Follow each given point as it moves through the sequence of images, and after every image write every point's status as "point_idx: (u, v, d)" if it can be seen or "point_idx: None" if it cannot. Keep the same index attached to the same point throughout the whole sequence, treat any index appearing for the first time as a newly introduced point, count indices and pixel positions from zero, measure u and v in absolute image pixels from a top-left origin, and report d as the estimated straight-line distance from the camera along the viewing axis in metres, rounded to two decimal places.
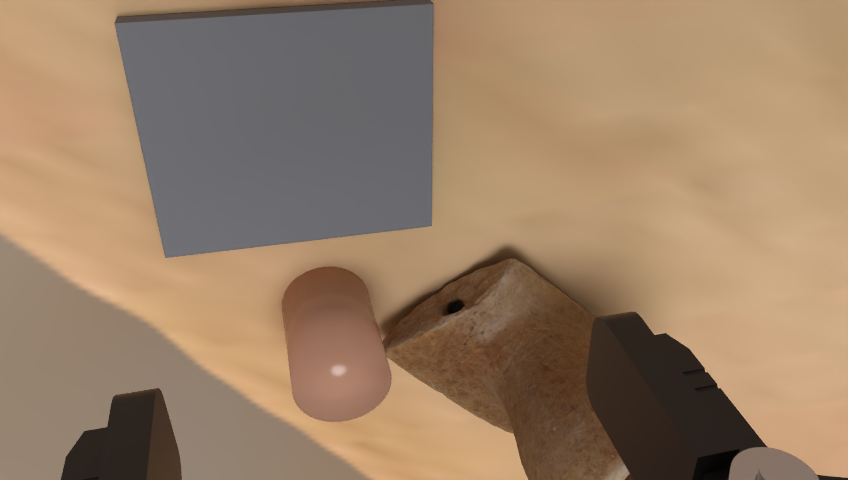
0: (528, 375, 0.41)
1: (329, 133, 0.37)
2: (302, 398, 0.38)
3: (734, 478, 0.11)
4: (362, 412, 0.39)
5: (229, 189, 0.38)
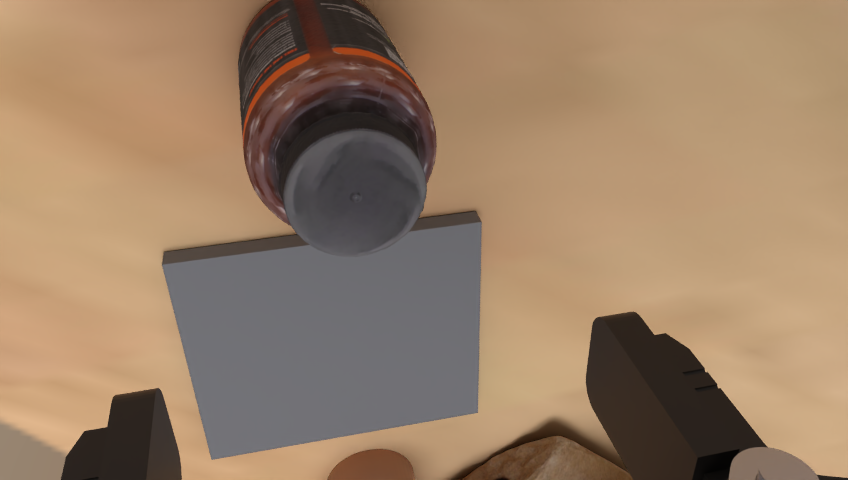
0: None
1: (376, 341, 0.37)
2: None
3: (734, 478, 0.11)
4: None
5: (275, 396, 0.37)
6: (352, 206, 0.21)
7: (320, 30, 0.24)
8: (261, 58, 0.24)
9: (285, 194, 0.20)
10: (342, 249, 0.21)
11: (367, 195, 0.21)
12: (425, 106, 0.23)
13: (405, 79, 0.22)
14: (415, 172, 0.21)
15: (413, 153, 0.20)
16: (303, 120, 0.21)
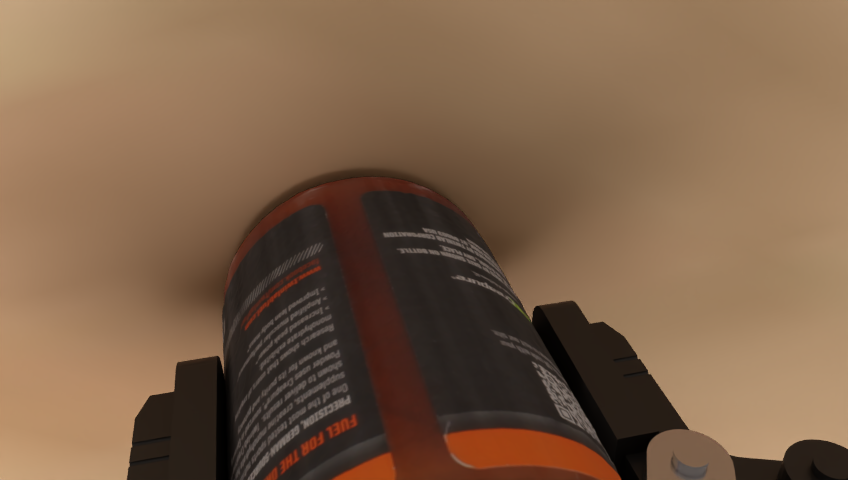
0: None
1: None
2: None
3: (650, 458, 0.11)
4: None
5: None
6: None
7: (400, 344, 0.11)
8: (272, 399, 0.11)
9: None
10: None
11: None
12: None
13: None
14: None
15: None
16: None
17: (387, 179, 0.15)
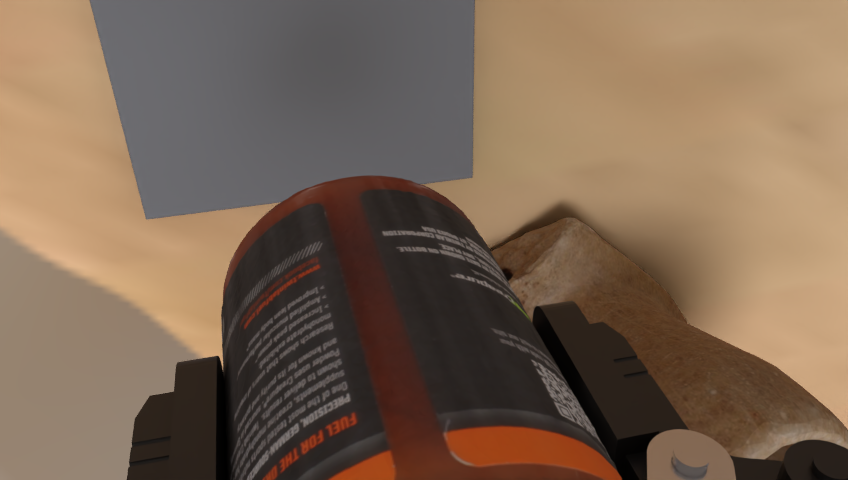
0: None
1: (346, 57, 0.30)
2: None
3: (650, 459, 0.11)
4: None
5: (222, 131, 0.30)
6: None
7: (400, 342, 0.11)
8: (271, 397, 0.11)
9: None
10: None
11: None
12: None
13: None
14: None
15: None
16: None
17: (386, 178, 0.15)
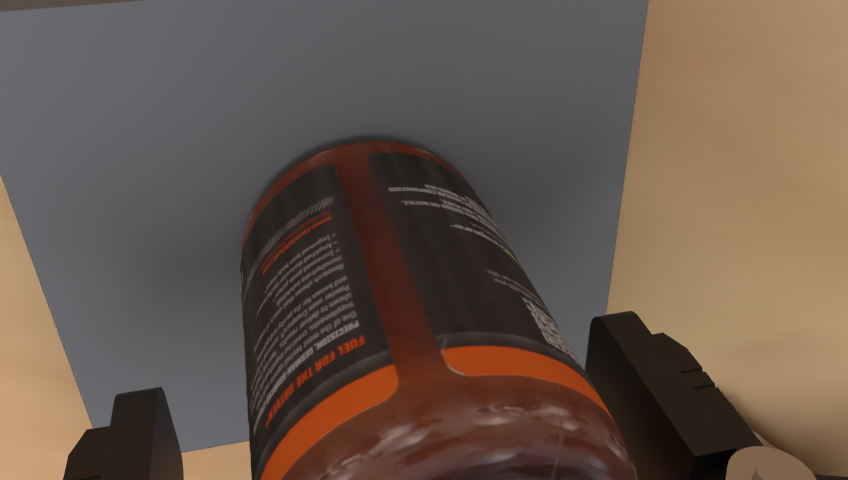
0: None
1: None
2: None
3: (731, 477, 0.11)
4: None
5: (225, 342, 0.19)
6: None
7: (403, 278, 0.12)
8: (288, 329, 0.12)
9: None
10: None
11: None
12: (628, 457, 0.11)
13: (594, 413, 0.11)
14: None
15: None
16: None
17: (392, 143, 0.16)
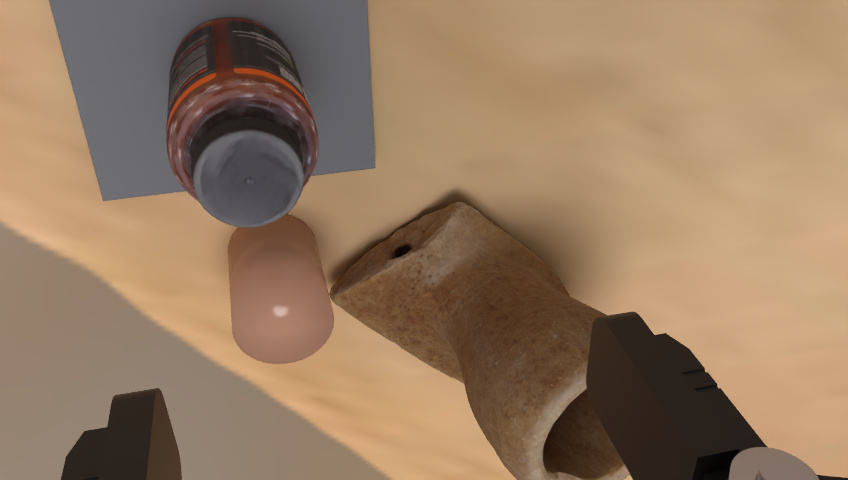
0: (474, 315, 0.41)
1: None
2: (243, 338, 0.38)
3: (734, 478, 0.11)
4: (306, 354, 0.39)
5: (165, 128, 0.37)
6: (246, 188, 0.28)
7: (228, 53, 0.30)
8: (182, 75, 0.31)
9: (194, 179, 0.27)
10: (241, 221, 0.28)
11: (257, 180, 0.27)
12: (307, 112, 0.29)
13: (290, 92, 0.29)
14: (293, 162, 0.27)
15: (291, 148, 0.27)
16: (209, 123, 0.28)
17: None
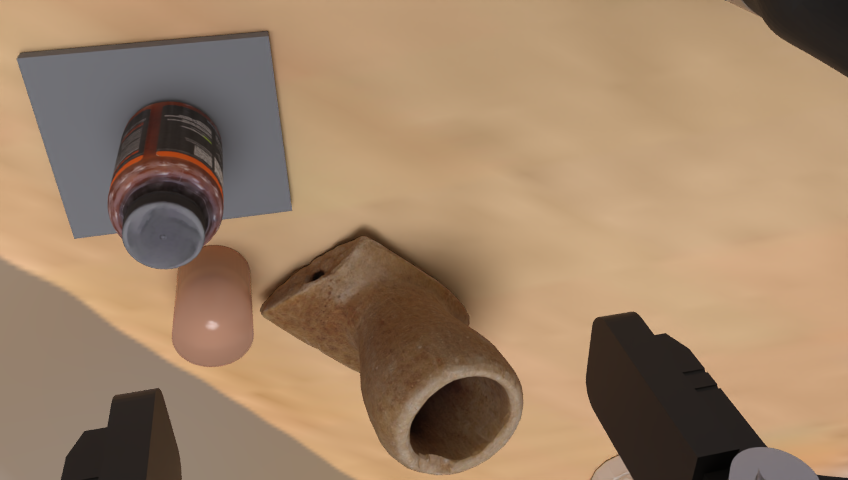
0: (370, 329, 0.51)
1: None
2: (182, 347, 0.48)
3: (734, 478, 0.11)
4: (233, 359, 0.49)
5: None
6: (161, 241, 0.38)
7: (156, 137, 0.41)
8: (122, 153, 0.41)
9: (122, 236, 0.37)
10: (159, 265, 0.39)
11: (169, 236, 0.38)
12: (211, 183, 0.40)
13: (198, 169, 0.39)
14: (195, 223, 0.38)
15: (193, 213, 0.38)
16: (135, 195, 0.38)
17: (175, 102, 0.45)
